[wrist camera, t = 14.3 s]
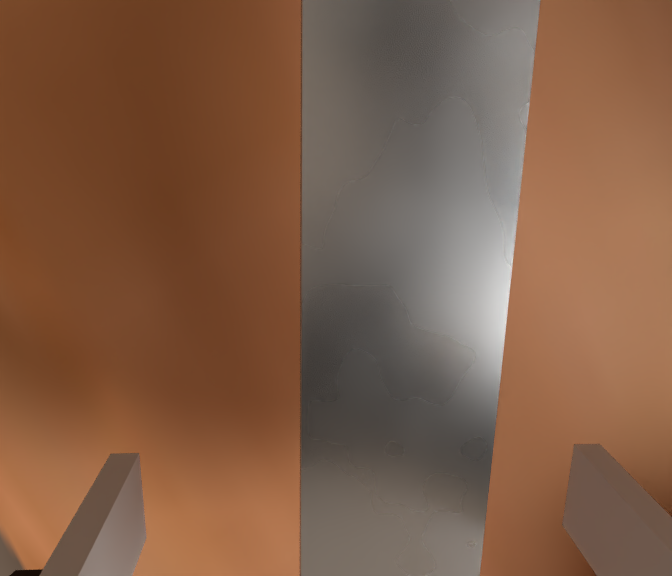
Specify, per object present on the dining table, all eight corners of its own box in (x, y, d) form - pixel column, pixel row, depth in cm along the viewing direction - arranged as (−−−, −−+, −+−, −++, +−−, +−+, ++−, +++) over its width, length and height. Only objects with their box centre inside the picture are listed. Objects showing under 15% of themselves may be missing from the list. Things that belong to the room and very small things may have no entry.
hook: (277, -278, 10) (255, -750, 5) (508, -261, 11) (735, -687, 5) (283, 602, 16) (275, 856, 10) (437, 595, 16) (512, 839, 10)
